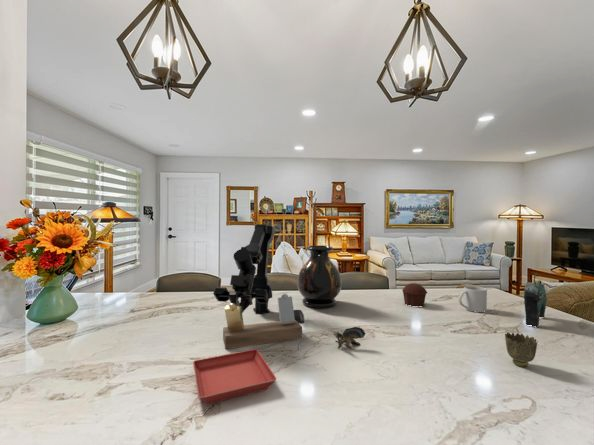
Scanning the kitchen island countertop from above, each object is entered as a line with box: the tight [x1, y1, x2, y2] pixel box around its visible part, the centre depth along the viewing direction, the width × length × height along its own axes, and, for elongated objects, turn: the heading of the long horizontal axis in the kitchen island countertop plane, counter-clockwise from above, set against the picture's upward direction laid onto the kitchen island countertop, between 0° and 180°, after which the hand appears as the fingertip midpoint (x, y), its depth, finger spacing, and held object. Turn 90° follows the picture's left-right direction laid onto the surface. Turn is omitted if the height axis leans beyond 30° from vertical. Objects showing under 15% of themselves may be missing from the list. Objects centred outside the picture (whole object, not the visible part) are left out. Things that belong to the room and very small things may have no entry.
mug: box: [458, 285, 488, 313], centre depth 135 cm, size 11×10×10 cm
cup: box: [504, 332, 539, 368], centre depth 84 cm, size 8×7×8 cm
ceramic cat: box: [523, 273, 548, 328], centre depth 120 cm, size 20×6×20 cm, turn 131°
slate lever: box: [277, 293, 295, 323], centre depth 106 cm, size 2×5×10 cm, turn 109°
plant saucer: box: [192, 348, 277, 405], centre depth 75 cm, size 18×18×3 cm
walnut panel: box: [222, 320, 303, 350], centre depth 101 cm, size 8×26×4 cm, turn 109°
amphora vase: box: [296, 245, 343, 309], centre depth 143 cm, size 22×22×28 cm
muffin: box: [402, 282, 428, 307], centre depth 143 cm, size 12×11×10 cm
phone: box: [293, 309, 305, 324], centre depth 124 cm, size 8×1×15 cm
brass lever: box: [224, 302, 245, 331], centre depth 96 cm, size 2×5×10 cm, turn 82°
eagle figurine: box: [333, 326, 367, 350], centre depth 96 cm, size 8×7×9 cm
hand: (235, 318), depth 97 cm, fingers closed, pressing on brass lever
